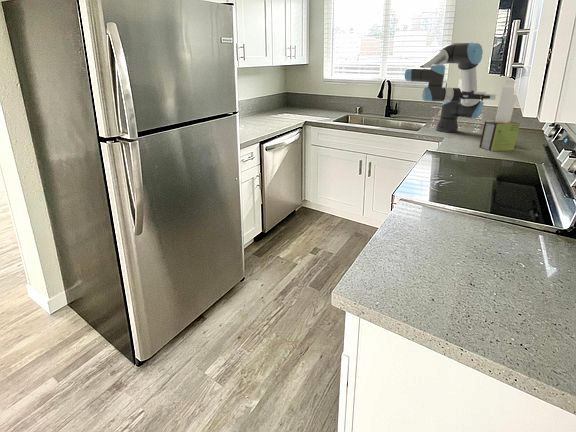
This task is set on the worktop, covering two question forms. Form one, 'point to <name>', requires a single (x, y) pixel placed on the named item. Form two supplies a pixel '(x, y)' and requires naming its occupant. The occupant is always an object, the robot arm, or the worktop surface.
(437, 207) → the worktop surface
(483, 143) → the protein box
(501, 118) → the milk
